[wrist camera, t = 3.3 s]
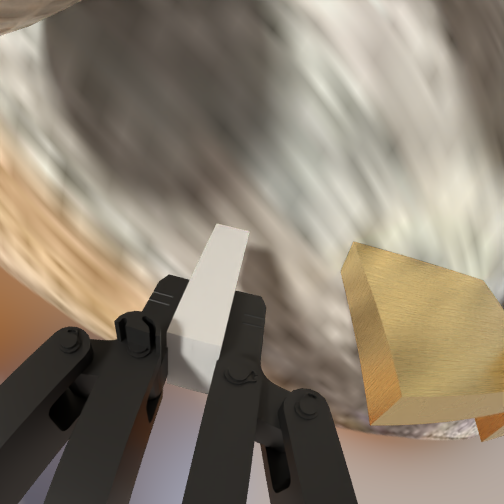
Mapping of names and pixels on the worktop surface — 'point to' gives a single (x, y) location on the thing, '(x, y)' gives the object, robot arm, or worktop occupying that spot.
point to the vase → (28, 12)
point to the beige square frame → (425, 341)
